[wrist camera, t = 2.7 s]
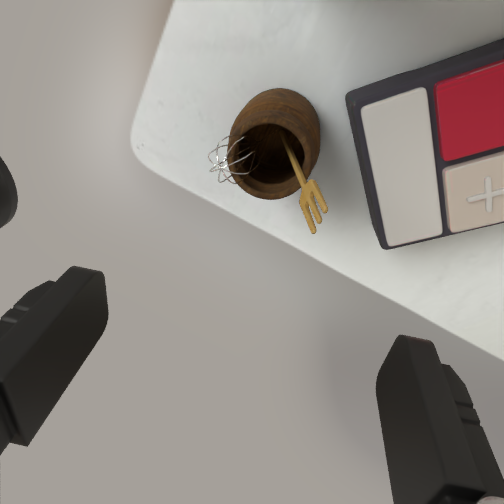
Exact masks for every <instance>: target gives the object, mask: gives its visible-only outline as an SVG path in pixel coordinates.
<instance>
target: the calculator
mask: <svg viewBox="0 0 504 504" xmlns="http://www.w3.org/2000/svg"><path fill="white" fill-rule="evenodd" d="M345 100H346V106H347V110H348V115H349V119H350V124H351V129H352V133H353V138H354V142H355V147H356V151H357V156H358V160H359V165H360V170H361V174H362V179H363V183H364V188H365V192H366V197H367V202H368V206H369V211H370V215H371V220H372V224H373V227H374V230H375V233H376V235H377V238H378V240H379V243H380V245H381V247H382V248H383V249H385V250H388V249H393V248H397V247H402V246H406V245H410V244H414V243H419V242H423V241H427V240H431V239H436V238H440V237H444V236H448V235H453V234H457V233H461V232H465V231H470V230H474V229H478V228H483V227H487V226H491V225H495V224H500V223H504V39H502V40H499V41H496V42H494V43H491V44H488V45H485V46H482V47H479V48H477V49H474V50H471V51H468V52H465V53H462V54H460V55H457V56H454V57H451V58H448V59H445V60H443V61H440V62H437V63H434V64H431V65H428V66H426V67H423V68H420V69H416V70H412V71H408V72H404V73H401V74H398V75H395V76H392V77H389V78H386V79H383V80H381V81H378V82H375V83H372V84H369V85H367V86H364V87H361V88H358V89H355V90H353V91H350V92H349V93H348V94H347V95H346V98H345Z"/></svg>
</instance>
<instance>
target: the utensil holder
mask: <svg viewBox="0 0 504 504" xmlns="http://www.w3.org/2000/svg"><path fill="white" fill-rule="evenodd" d="M227 137H229V144H228V150H227V155H226V156H225V158H224V161H226V160H227V162H228V165H227V166H228V167H229V170H230V171H227V170H225V169H223V168H224V167H227V166H224V167H222V166H223V163H224V161H223V162H221V163H222V166H220V164H221V163H219V159H218V153H217V159H218V163H219V164H218V165H219V166H220V167H219V166H218V165H215V164H214V163H213V162H212V161H211V160H210V158H209V154H210V153H211V152H213V151H214V150H216V149H217V150H218V148H220V147H223V146H227V145H223V146H220V147H218V145H219V143H220V142H221V141H222V140H224V139H225V138H227ZM227 137H225V138H224V139H222V140H221V141H220V142H219V143H218V145H217V148H216V149H214V150H213V151H211V152H210V153H209V154H208V158H209V160H210V161H211V163H213V164H214V165H215V167H216V166H217V167H219V169H220V172H221V170H222V169H223V170H225V171H227V172H230V173H231V176H232V177H233V179H234V180H235V182H236V183H233V182H231V181H230V180H229V179H228V178H229V177H231V176H229V177H228V178H227V177H226V176H225V174H224V172H223V170H222V172H223V174H224V176H225V177H226V179H225V180H228V181H229V182H231V183H233V184H238V185H239V186H240V187H241V188H242V189H243V190H244V191H245V192H247V193H249V194H250V195H252V196H255V197H257V198H261V199H268V200H274V199H281V198H284V197H287V196H289V195H291V194H293V193H294V192H296V191H297V190H298V189H300V188H301V187H302V193H301V197H300V200H299V204H300V206H301V209H302V211H303V214H304V216H305V218H306V221H307V223H308V226H309V228H310V230H311V233H312V234H315V233H316V227H315V224H314V221H313V218H312V216H311V213H310V210H309V206H310V208H311V210H312V213H313V215H314V217H315V219H316V221H317V223H318V224H320V223H321V222H322V218H321V215H320V212H319V210H318V207H317V205H316V202H315V200H314V195H315V197H316V199H317V201H318V203H319V205H320V207H321V209H322V211H323V213H327V211H328V207H327V205H326V203H325V200H324V198H323V196H322V193H321V191H320V189H319V187H318V184H317V182H316V181H315V180H312V179H310V180H309V181H308V182H307V181H306V180H307V179H308V177H309V175H310V173H311V171H312V169H313V168H314V166H315V164H316V162H317V159H318V156H319V151H320V124H319V119H318V116H317V114H316V111H315V110H314V108H313V106H312V105H311V104H310V102H309V101H308V100H307V99H306V98H305V97H303V96H302V95H300V94H299V93H297V92H295V91H292V90H289V89H282V88H277V89H270V90H267V91H264V92H262V93H260V94H258V95H257V96H255V97H254V98H253V99H252V100H250V101H249V102H248V104H247V105H246V106H245V107H244V108H243V110H242V111H241V112H240V113H239V115H238V116H237V118H236V120H235V122H234V124H233V126H232V129H231V132H230V135H229V136H227ZM226 157H227V159H226ZM225 159H226V160H225ZM215 167H213V168H215ZM213 168H212V169H213ZM212 169H211V170H212ZM219 169H216V170H219ZM211 170H209V172H213V171H216V170H213V171H211ZM220 172H219V176H220ZM219 176H218V181H219ZM225 180H224V181H225ZM224 181H222V182H224ZM219 182H220V181H219ZM222 182H220V183H222Z"/></svg>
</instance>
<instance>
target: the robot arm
mask: <svg viewBox="0 0 504 504" xmlns="http://www.w3.org/2000/svg"><path fill="white" fill-rule="evenodd" d="M107 320H108V304H107V295H106V285H105V277H104V274H103V273H102V272H101V271H96V270H91V269H87V268H82V267H77V266H72V267H70V268H69V269H68V270H67V271H66V272H65V273H64V274H63V275H62V276H61V277H60V278H59V279H58V280H57V281H56V282H54V281H47V282H45V283H43V284H41V285H39V286H37V287H35V288H34V289H32V290H30V291H28V292H27V293H26V294H25V295H24V296H23V297H22V298H21V299H20V300H19V301H18V302H17V303H16V304H15V305H14V307H13V309H10V310H8V311H7V312H6V313H5V314H4V315H3V316H2V317H1V320H0V455H1V454H2V452H3V451H4V449H5V448H6V447H7V445H8V444H9V442H10V443H14V444H18V445H23V446H28V445H29V444H30V442H31V441H32V439H33V438H34V436H35V434H36V433H37V432H38V430H39V429H40V427H41V426H42V424H43V423H44V421H45V419H46V418H47V417H48V415H49V414H50V412H51V411H52V409H53V408H54V406H55V405H56V403H57V402H58V400H59V399H60V397H61V395H62V394H63V392H64V391H65V390H66V388H67V387H68V385H69V384H70V382H71V381H72V379H73V377H74V376H75V375H76V373H77V372H78V370H79V369H80V367H81V366H82V364H83V362H84V361H85V360H86V358H87V357H88V355H89V354H90V352H91V351H92V349H93V348H94V346H95V345H96V343H97V341H98V340H99V339H100V337H101V336H102V334H103V332H104V330H105V327H106V325H107ZM376 397H377V403H378V409H379V414H380V421H381V427H382V434H383V440H384V446H385V452H386V458H387V465H388V471H389V477H390V483H391V490H392V495H393V501H394V504H504V479H503V477H502V474H501V472H500V469H499V467H498V464H497V462H496V459H495V457H494V455H493V452H492V450H491V447H490V445H489V442H488V440H487V437H486V435H485V432H484V430H483V428H482V427H481V426H480V420H479V418H478V415H477V413H476V410H475V409H473V403H472V400H471V398H470V395H469V393H468V391H467V388H466V386H465V384H464V383H463V382H462V380H461V379H460V378H459V376H458V375H457V374H456V373H455V371H454V370H453V369H452V368H451V367H450V365H445V364H441V362H440V360H439V357H438V354H437V351H436V348H435V346H434V344H433V343H432V342H431V341H429V340H425V339H420V338H416V337H411V336H406V335H399V336H398V337H397V338H396V340H395V342H394V344H393V346H392V347H391V349H390V351H389V353H388V355H387V357H386V359H385V361H384V363H383V364H382V366H381V368H380V370H379V373H378V376H377V381H376Z"/></svg>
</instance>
